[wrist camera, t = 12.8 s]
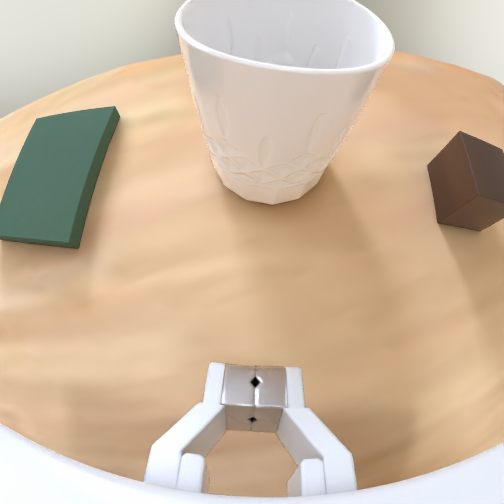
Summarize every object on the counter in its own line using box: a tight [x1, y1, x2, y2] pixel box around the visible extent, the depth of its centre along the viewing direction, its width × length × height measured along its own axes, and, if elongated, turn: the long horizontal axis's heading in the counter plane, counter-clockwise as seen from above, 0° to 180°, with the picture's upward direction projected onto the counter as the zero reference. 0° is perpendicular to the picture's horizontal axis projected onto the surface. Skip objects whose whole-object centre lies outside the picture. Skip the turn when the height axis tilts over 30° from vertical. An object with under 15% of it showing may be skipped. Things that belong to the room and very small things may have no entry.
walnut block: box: [427, 131, 504, 231], centre depth 15 cm, size 4×4×4 cm
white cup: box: [175, 0, 395, 205], centre depth 12 cm, size 8×8×10 cm
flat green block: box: [0, 106, 120, 248], centre depth 16 cm, size 8×10×1 cm
